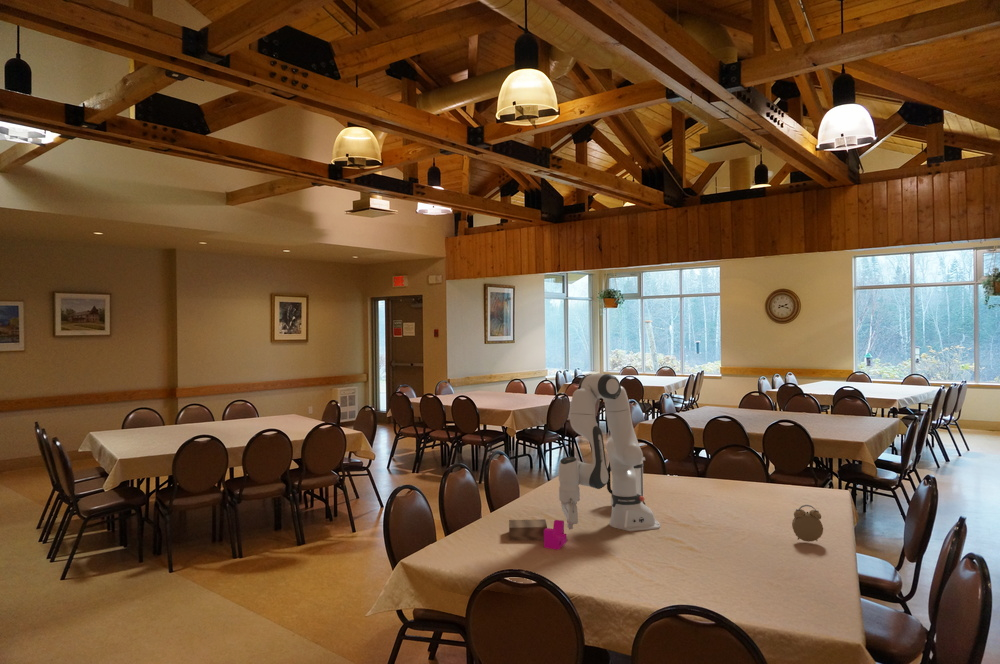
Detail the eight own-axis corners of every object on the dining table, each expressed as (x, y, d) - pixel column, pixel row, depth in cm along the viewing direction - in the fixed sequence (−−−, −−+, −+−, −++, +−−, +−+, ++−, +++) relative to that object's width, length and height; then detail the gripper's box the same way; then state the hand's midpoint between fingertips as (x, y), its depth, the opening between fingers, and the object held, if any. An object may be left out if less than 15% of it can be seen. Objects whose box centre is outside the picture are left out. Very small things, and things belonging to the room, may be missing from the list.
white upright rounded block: (625, 498, 327) (624, 441, 327) (652, 503, 316) (651, 444, 316) (606, 504, 315) (605, 445, 315) (633, 510, 303) (632, 449, 304)
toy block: (558, 550, 249) (558, 531, 249) (544, 548, 252) (543, 529, 252) (569, 538, 263) (569, 521, 263) (555, 537, 266) (555, 519, 266)
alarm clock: (821, 540, 256) (821, 504, 256) (824, 544, 251) (823, 507, 251) (792, 538, 259) (791, 502, 259) (793, 541, 255) (793, 505, 255)
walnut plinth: (545, 533, 272) (545, 519, 272) (547, 541, 261) (547, 527, 261) (509, 533, 272) (508, 519, 272) (509, 541, 261) (509, 527, 261)
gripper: (581, 502, 255) (581, 535, 254) (572, 489, 275) (573, 521, 275) (565, 502, 254) (566, 536, 254) (558, 490, 275) (559, 521, 275)
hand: (570, 528), depth 265 cm, fingers closed
